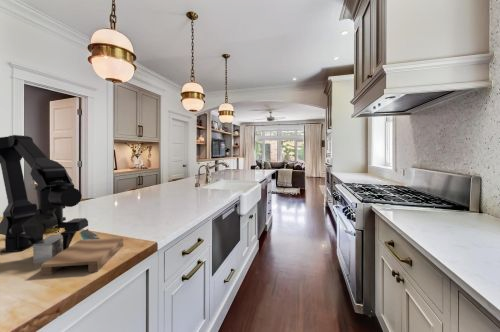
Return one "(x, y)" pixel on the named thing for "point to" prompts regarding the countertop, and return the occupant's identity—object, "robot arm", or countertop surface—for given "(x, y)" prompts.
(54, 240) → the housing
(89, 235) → the knife
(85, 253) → the stand
